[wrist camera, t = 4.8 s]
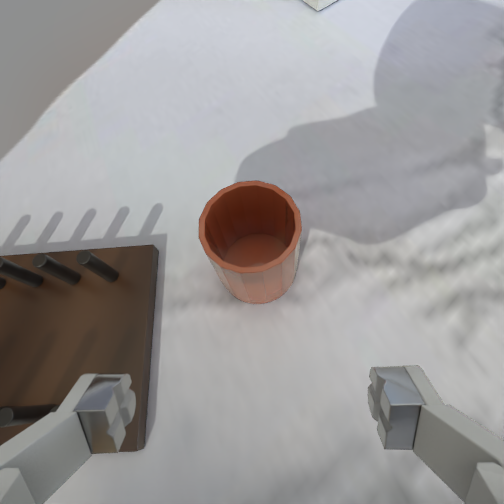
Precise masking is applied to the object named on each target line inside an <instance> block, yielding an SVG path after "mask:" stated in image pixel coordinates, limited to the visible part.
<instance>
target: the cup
mask: <svg viewBox="0 0 504 504" xmlns="http://www.w3.org/2000/svg"><path fill="white" fill-rule="evenodd" d="M301 231H302V227H301V218H300V212H299V209H298V208H297V206H296V204H295V203H294V201H293V200H292V198H291V196H290V195H288V194H287V193H285V192H284V191H283V190H281V189H280V188H278V187H277V186H275V185H272V184H268V183H265V182H261V181H246V182H237V183H235V184H233V185H230V186H228V187H226V188H224V189H221V190H220V191H219V192H218V193H217V194H216V195H215V196H213V197H212V198H211V199H210V200H209V201H208V202H207V204H206V206H205V208H204V210H203V212H202V214H201V216H200V218H199V239H200V242H201V244H202V246H203V248H204V251H205V253H206V255H207V257H208V258H209V260H210V262H211V264H212V265H213V267H214V269H215V271H216V272H217V274H218V276H219V278H220V279H221V281H222V283H223V285H224V286H225V288H226V289H227V290H228V291H229V292H230V293H231V294H232V295H233V296H234V297H236V298H237V299H239V300H241V301H244V302H247V303H252V304H263V303H268V302H271V301H273V300H276V299H277V298H279V297H281V296H282V295H283V294H284V293H285V292H286V291H287V290H288V289H289V288H290V286H291V285H292V283H293V280H294V278H295V274H296V271H297V264H298V256H299V248H300V239H301Z"/></svg>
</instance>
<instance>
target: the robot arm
mask: <svg viewBox="0 0 504 504" xmlns="http://www.w3.org/2000/svg"><path fill="white" fill-rule="evenodd" d="M369 377H370V380H371V382H372V384H371V385H370V386H369V387H368V404H369V408H370V412H371V415H372V417H373V418H374V419H375V420H376V421H377V422H378V426H377V431H378V434H379V436H380V439H381V442H382V444H383V447H384V449H400V450H413V452H414V453H415V454H416V455H417V456H418V457H419V458H420V459H421V460H422V461H423V462H424V463H425V464H426V465H427V466H428V467H429V468H430V469H431V470H432V471H433V472H434V473H435V474H436V475H437V476H438V477H439V478H440V479H441V480H442V481H443V482H444V483H445V484H446V485H447V486H448V487H449V488H450V489H451V490H452V491H453V492H454V493H455V494H456V495H457V496H458V497H459V498H460V499H461V500H462V501H463V502H464V503H465V504H504V440H503V439H502V438H500V437H499V436H497V435H496V434H494V433H492V432H491V431H489V430H488V429H486V428H485V427H483V426H482V425H480V424H479V423H477V422H476V421H474V420H472V419H471V418H469V417H468V416H466V415H465V414H463V413H462V412H460V411H459V410H457V409H456V408H454V407H452V406H451V405H445V404H444V403H443V401H442V399H441V398H440V396H439V395H438V393H437V392H436V390H435V389H434V387H433V385H432V384H431V382H430V381H429V379H428V378H427V376H426V375H425V373H424V371H423V370H422V368H421V367H420V366H418V365H414V366H392V367H371V369H370V374H369ZM131 383H132V381H131V378H130V374H127V373H99V374H91V373H85V374H83V375H82V376H80V378H79V379H78V381H77V382H76V383H75V385H74V386H73V388H72V389H71V391H70V392H69V393H68V395H67V396H66V398H65V399H64V401H63V402H62V403H61V405H60V406H59V408H58V409H57V411H56V412H51V413H49V414H48V415H46V416H45V417H43V418H42V419H40V420H39V421H37V422H36V423H34V424H33V425H31V426H30V427H28V428H27V429H25V430H24V431H22V432H20V433H19V434H17V435H16V436H14V437H13V438H11V439H10V440H8V441H7V442H5V443H4V444H2V445H1V446H0V504H43V503H44V502H45V501H46V500H47V499H48V498H49V497H50V496H51V495H52V494H53V493H54V492H55V491H56V490H57V489H59V488H60V487H61V486H62V485H63V484H64V483H65V482H66V481H67V480H68V479H69V478H70V477H71V476H72V475H73V474H74V473H75V472H76V471H77V470H78V469H79V468H80V467H81V466H82V465H83V464H84V463H85V462H86V461H87V460H88V459H89V458H90V457H91V456H92V455H91V454H100V453H118V452H119V449H120V447H121V445H122V442H123V440H124V438H125V435H126V431H125V428H124V427H126V426H127V425H128V424H129V423H130V422H131V421H132V419H133V416H134V413H135V408H136V397H135V392H134V391H133V390H131V389H130V388H129V387H130V385H131Z"/></svg>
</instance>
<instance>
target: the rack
mask: <svg viewBox="0 0 504 504" xmlns="http://www.w3.org/2000/svg"><path fill="white" fill-rule="evenodd" d="M157 265H158V249H157V248H156V247H155V246H154V245H143V246H129V247H116V248H103V249H89V250H76V251H62V252H49V253H35V254H22V255H8V256H0V446H1V445H2V444H4V443H5V442H7V441H8V440H10V439H11V438H13V437H14V436H16V435H17V434H19V433H20V432H22V431H24V430H25V429H27V428H28V427H30V426H31V425H33V424H34V423H36V422H37V421H39V420H40V419H42V418H43V417H45V416H46V415H48V414H49V413H51V412H56V411H57V409H58V408H59V406H60V405H61V403H62V402H63V401H64V399H65V398H66V396H67V395H68V393H69V392H70V391H71V389H72V388H73V386H74V385H75V383H76V382H77V381H78V379H79V378H80V376H82V375H83V374H85V373H91V374H99V373H127V374H130V378H131V381H132V383H131V385H130V387H129V388H130V389H131V390H133V391H134V392H135V397H136V408H135V413H134V416H133V419H132V421H131V422H130V423H129V424H128V425H127V426H126V427H124V428H125V431H126V435H125V438H124V440H123V442H122V445H121V447H120V449H119V452H132V451H138V450H141V449H143V448H144V442H145V428H146V415H147V401H148V387H149V374H150V360H151V347H152V333H153V319H154V306H155V292H156V279H157Z"/></svg>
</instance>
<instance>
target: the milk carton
mask: <svg viewBox="0 0 504 504" xmlns="http://www.w3.org/2000/svg"><path fill="white" fill-rule="evenodd" d="M303 1H304V2H306V3H307V4H308V5H310V6H311V7H313V8H314V9H315V10H317V11H319V10H321V9H323V8H325V7H327V6H328V5H330V4H332V3H333V2H335V1H337V0H303Z"/></svg>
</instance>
